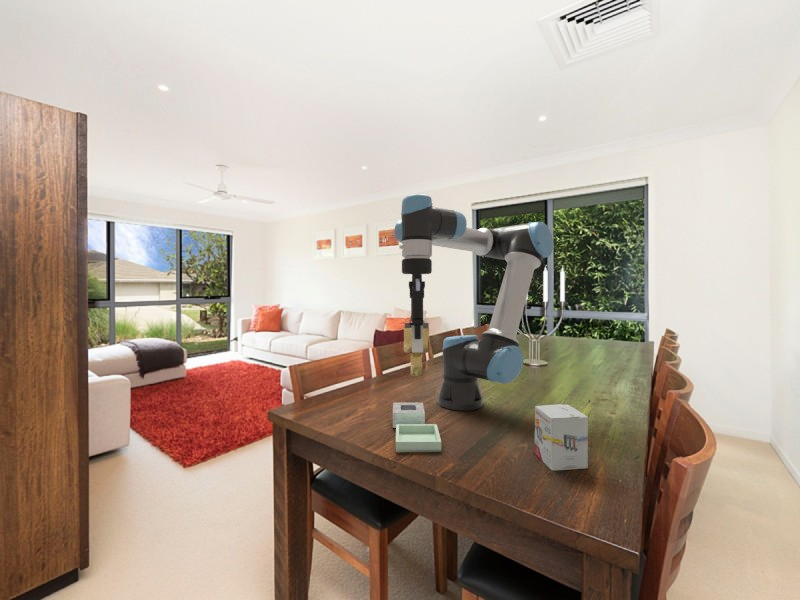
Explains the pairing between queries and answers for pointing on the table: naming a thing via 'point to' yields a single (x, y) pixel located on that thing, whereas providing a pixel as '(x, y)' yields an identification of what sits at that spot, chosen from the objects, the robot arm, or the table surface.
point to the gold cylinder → (416, 356)
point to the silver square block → (408, 413)
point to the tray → (417, 438)
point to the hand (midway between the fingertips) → (416, 349)
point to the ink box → (561, 437)
